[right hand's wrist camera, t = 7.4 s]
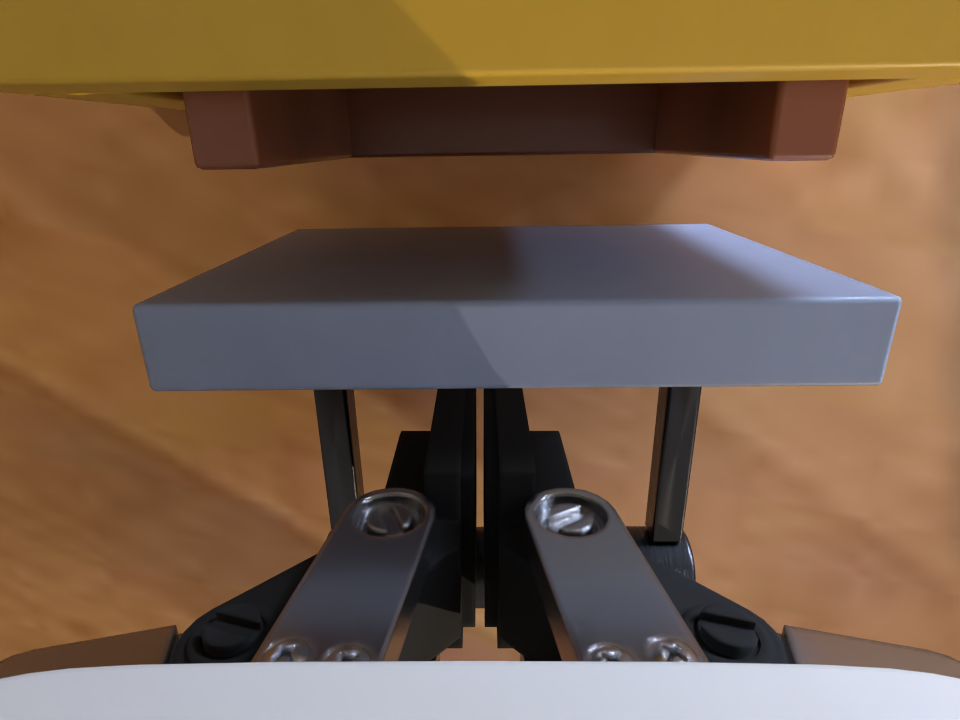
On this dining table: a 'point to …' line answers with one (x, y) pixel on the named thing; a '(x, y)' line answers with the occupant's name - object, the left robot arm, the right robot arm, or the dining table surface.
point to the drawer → (518, 272)
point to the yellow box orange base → (465, 44)
